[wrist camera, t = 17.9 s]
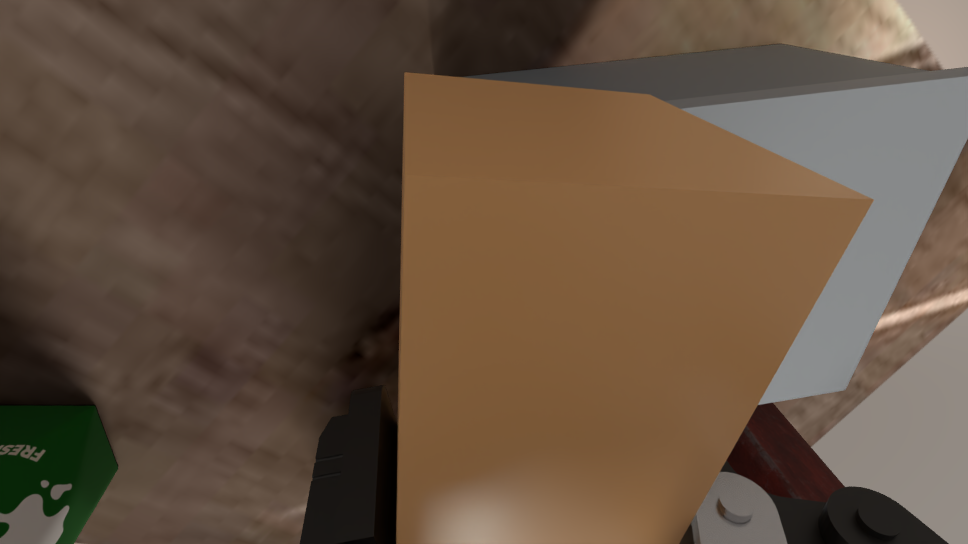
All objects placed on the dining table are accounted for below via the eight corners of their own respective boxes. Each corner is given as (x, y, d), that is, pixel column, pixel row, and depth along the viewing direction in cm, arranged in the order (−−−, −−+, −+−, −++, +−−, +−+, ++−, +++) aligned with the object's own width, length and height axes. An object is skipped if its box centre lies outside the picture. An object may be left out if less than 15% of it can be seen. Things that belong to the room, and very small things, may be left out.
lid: (828, 374, 27) (845, 390, 26) (482, 432, 26) (485, 451, 25) (967, 66, 18) (999, 72, 17) (448, 125, 17) (450, 134, 16)
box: (724, 276, 36) (822, 368, 27) (462, 313, 34) (481, 424, 26) (781, 43, 27) (949, 74, 19) (434, 79, 25) (448, 131, 17)
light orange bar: (530, 527, 16) (576, 724, 12) (395, 538, 15) (391, 754, 11) (649, 94, 9) (873, 199, 5) (404, 72, 8) (405, 174, 4)
